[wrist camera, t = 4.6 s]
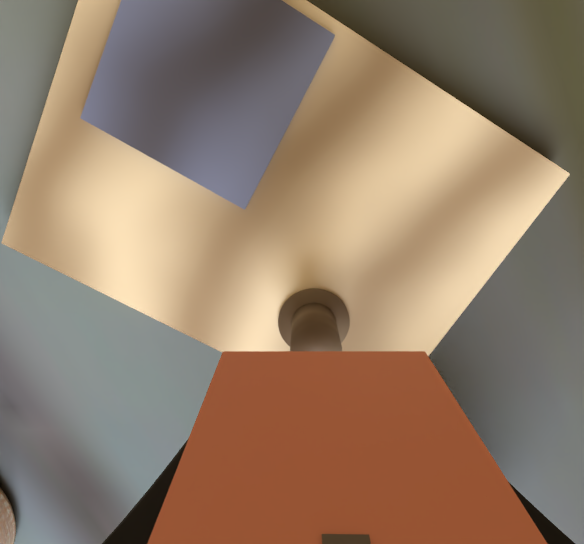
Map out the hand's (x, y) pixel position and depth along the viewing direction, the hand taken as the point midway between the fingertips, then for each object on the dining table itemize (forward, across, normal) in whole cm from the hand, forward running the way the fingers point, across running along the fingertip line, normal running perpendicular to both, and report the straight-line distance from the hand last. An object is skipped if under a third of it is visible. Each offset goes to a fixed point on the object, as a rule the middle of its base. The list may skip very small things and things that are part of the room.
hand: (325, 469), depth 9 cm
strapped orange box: (+1, 0, 0) cm, 1 cm away
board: (+9, +2, -5) cm, 11 cm away
